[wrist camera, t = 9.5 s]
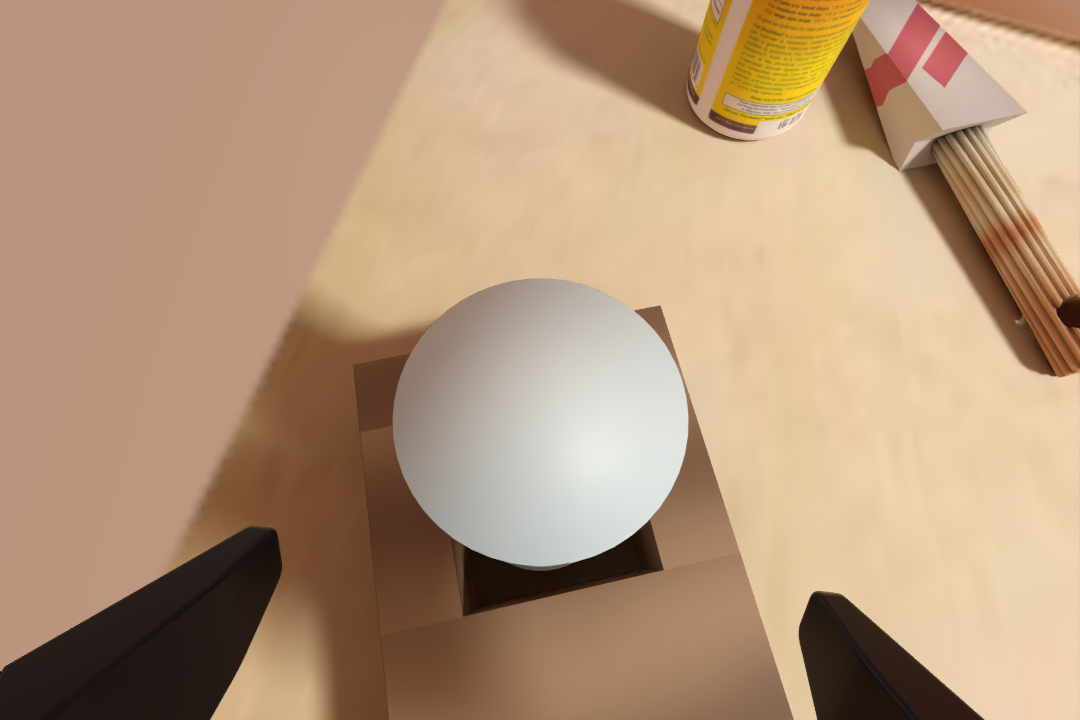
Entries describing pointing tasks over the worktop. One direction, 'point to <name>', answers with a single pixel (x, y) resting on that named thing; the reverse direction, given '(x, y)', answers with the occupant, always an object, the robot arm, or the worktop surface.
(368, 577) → the worktop surface
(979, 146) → the paintbrush
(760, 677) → the brown holed block
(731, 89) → the supplement bottle
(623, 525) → the peg
